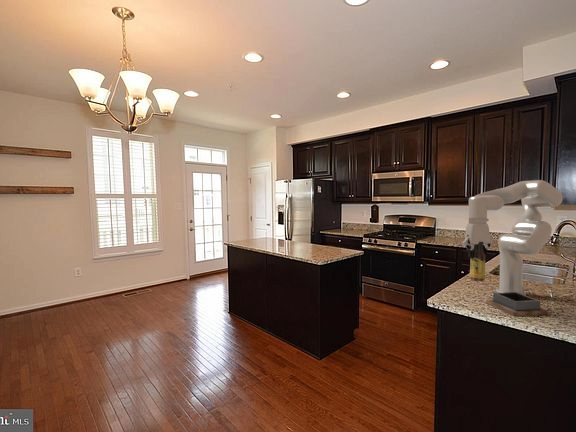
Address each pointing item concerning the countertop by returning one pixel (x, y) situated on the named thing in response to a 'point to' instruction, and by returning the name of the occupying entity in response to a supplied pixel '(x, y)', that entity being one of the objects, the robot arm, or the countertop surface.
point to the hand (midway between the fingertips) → (477, 257)
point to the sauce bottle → (478, 263)
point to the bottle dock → (516, 304)
